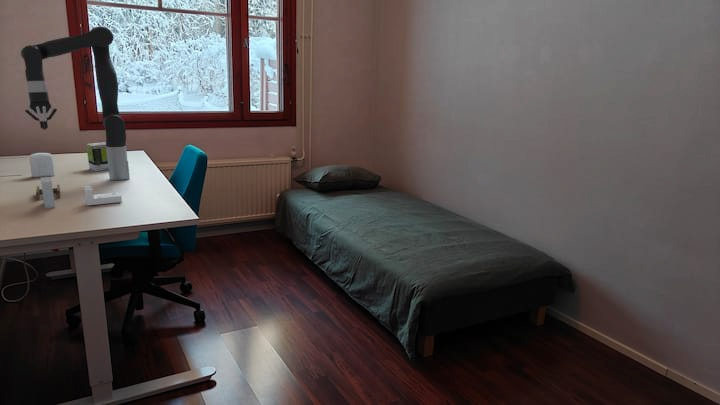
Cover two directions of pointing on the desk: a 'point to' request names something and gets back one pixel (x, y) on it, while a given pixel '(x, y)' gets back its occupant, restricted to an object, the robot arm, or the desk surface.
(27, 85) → the robot arm
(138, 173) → the desk surface
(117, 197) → the bracket
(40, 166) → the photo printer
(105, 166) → the tea box
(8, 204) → the desk surface
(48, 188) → the grey rectangular block
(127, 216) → the desk surface
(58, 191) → the walnut box
